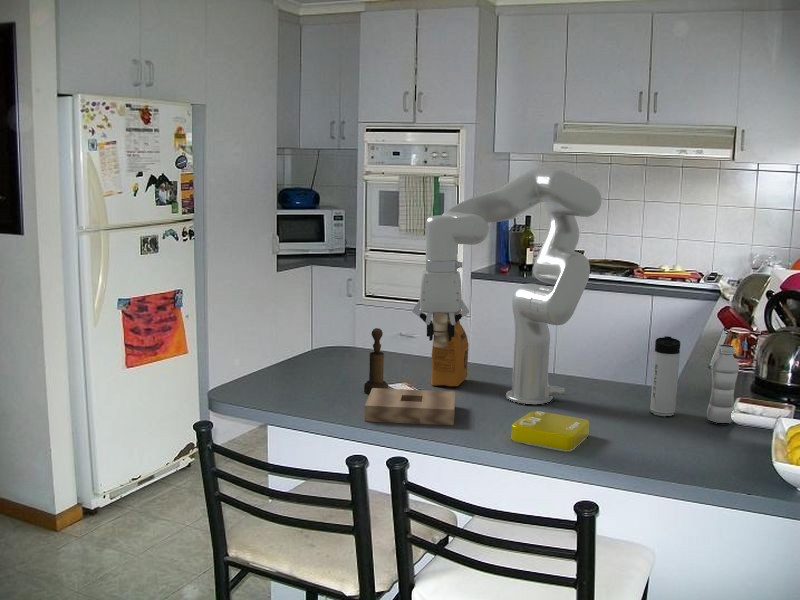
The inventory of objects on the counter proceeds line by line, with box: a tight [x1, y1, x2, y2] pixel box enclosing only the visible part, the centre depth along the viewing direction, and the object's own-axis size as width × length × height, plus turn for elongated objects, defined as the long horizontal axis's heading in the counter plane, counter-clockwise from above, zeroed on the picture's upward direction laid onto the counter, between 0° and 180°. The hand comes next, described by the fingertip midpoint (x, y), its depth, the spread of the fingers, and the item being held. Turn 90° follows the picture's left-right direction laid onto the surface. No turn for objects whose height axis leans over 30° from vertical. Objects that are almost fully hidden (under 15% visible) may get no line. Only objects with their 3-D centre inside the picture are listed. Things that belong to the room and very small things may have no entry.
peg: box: [432, 312, 449, 348], centre depth 215 cm, size 4×4×10 cm
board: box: [364, 388, 456, 426], centre depth 222 cm, size 22×16×4 cm
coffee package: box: [430, 309, 469, 387], centre depth 250 cm, size 10×12×22 cm
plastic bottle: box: [706, 344, 740, 424], centre depth 219 cm, size 6×7×20 cm
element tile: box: [510, 410, 590, 450], centre depth 206 cm, size 15×15×5 cm
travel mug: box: [649, 335, 681, 414], centre depth 226 cm, size 6×7×20 cm
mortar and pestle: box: [363, 327, 389, 395], centre depth 240 cm, size 7×6×18 cm
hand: (440, 338), depth 216 cm, fingers closed on peg, 4 cm apart
